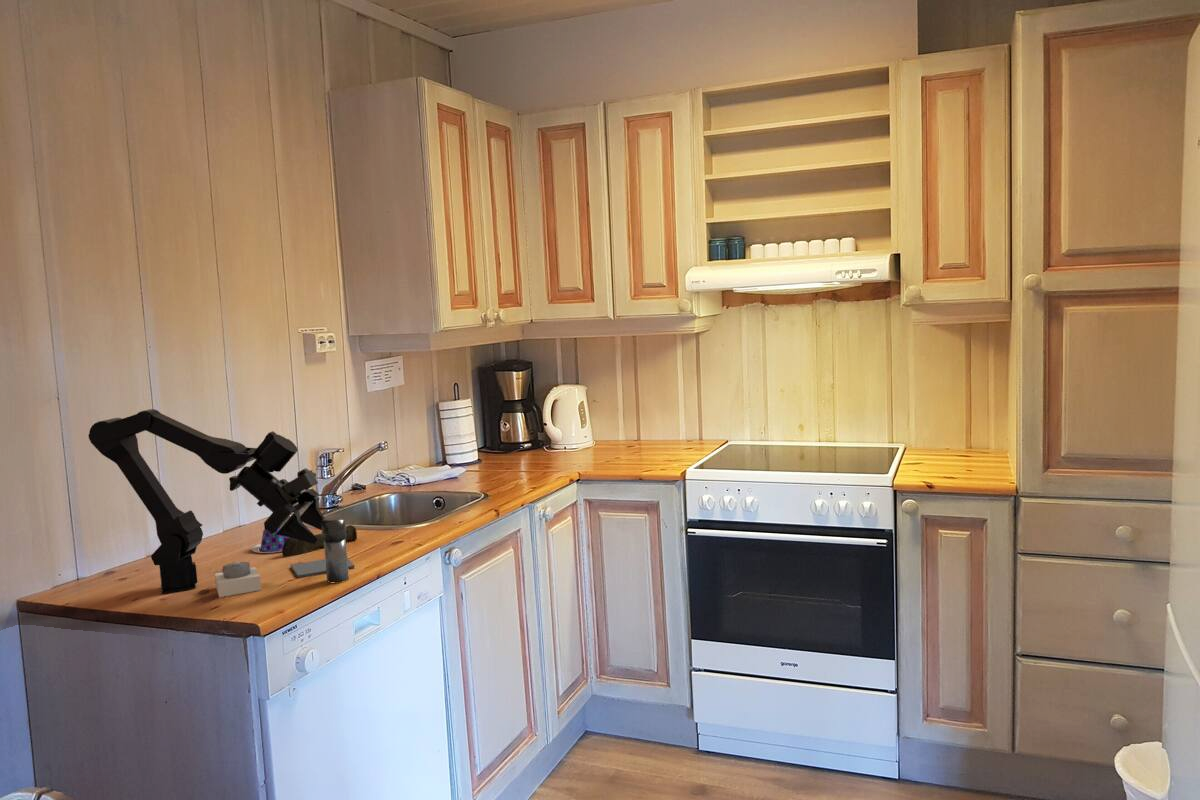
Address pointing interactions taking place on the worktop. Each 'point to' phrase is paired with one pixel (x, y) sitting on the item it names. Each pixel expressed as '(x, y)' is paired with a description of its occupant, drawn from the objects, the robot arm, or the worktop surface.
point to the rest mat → (313, 568)
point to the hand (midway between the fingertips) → (323, 536)
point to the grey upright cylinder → (335, 548)
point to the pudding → (270, 543)
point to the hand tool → (301, 547)
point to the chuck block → (237, 579)
